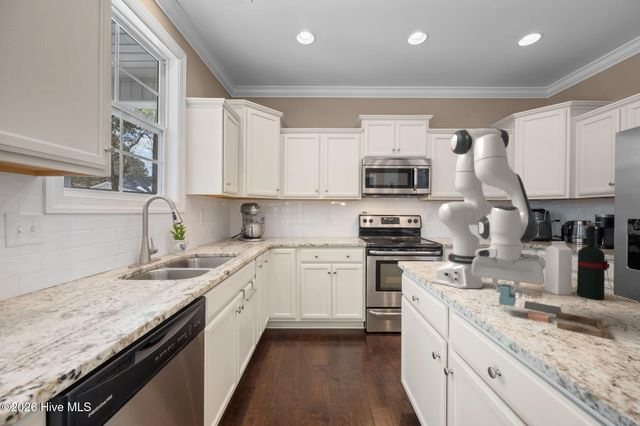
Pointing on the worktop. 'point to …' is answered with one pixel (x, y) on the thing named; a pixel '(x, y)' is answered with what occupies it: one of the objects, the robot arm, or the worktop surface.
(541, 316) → the tile
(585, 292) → the wine bottle
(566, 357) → the worktop surface
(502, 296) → the pusher
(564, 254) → the milk
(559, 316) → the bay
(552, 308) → the mat
